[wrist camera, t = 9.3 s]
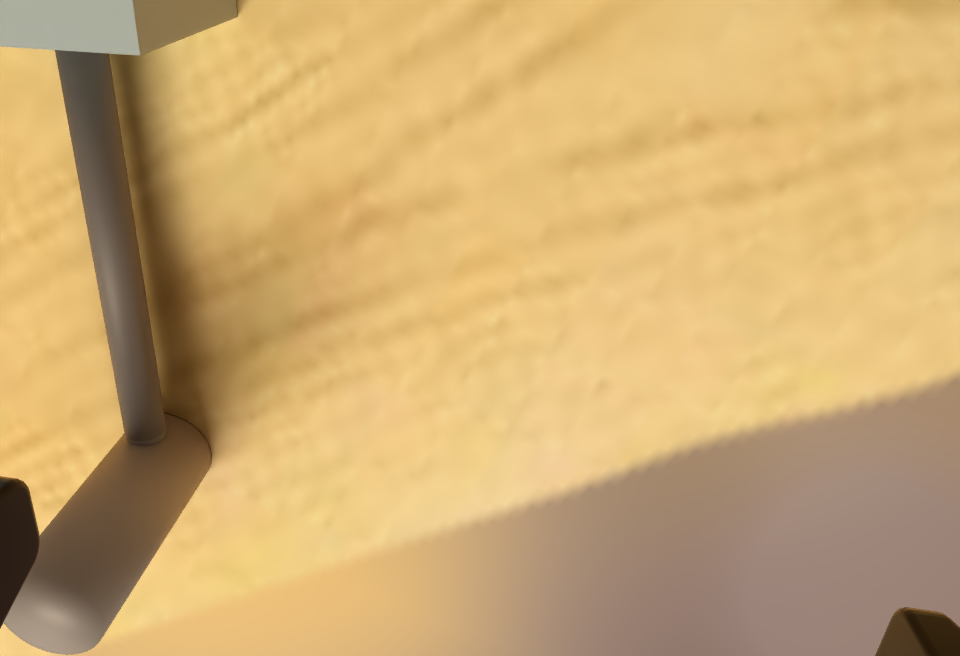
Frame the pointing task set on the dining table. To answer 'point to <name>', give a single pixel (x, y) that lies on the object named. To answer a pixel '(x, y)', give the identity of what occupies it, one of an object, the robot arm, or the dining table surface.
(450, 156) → the dining table surface
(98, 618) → the grey block with handle
